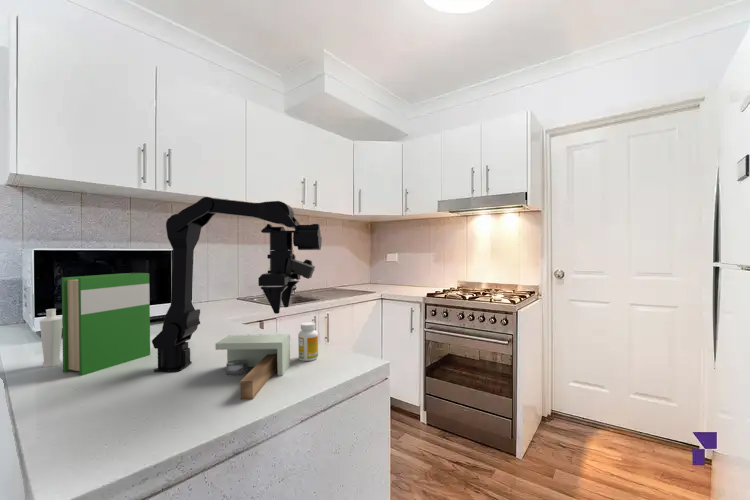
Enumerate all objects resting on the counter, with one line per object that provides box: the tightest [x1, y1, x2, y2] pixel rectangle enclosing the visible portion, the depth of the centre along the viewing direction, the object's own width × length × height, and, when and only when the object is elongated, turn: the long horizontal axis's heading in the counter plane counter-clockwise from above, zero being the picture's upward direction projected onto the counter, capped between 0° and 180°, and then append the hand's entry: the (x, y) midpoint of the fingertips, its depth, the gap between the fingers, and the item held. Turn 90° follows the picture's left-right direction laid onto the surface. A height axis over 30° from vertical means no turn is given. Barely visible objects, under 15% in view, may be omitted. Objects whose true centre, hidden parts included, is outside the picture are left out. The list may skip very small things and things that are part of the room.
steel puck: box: [225, 360, 249, 377], centre depth 87 cm, size 5×5×2 cm
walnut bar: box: [239, 354, 278, 400], centre depth 80 cm, size 2×18×4 cm, turn 0°
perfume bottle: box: [39, 308, 63, 368], centre depth 93 cm, size 5×4×15 cm
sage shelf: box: [214, 333, 291, 377], centre depth 88 cm, size 16×8×8 cm, turn 91°
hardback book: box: [61, 272, 151, 376], centre depth 95 cm, size 18×7×24 cm, turn 160°
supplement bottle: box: [297, 321, 319, 362], centre depth 97 cm, size 5×5×10 cm
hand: (281, 310), depth 90 cm, fingers open, 9 cm apart
